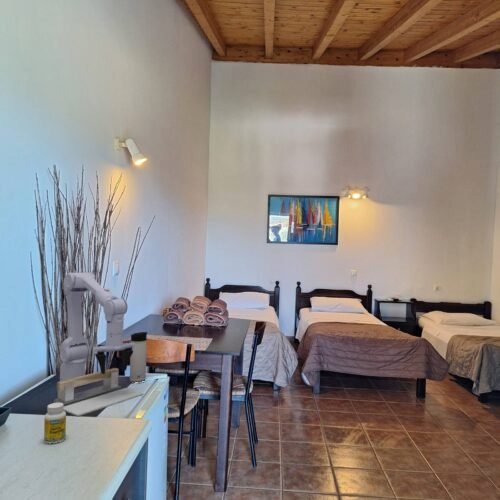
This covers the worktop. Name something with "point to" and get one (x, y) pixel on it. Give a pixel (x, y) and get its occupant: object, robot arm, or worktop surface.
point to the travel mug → (138, 357)
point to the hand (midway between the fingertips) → (113, 371)
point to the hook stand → (87, 391)
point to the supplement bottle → (55, 423)
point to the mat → (101, 401)
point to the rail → (86, 379)
